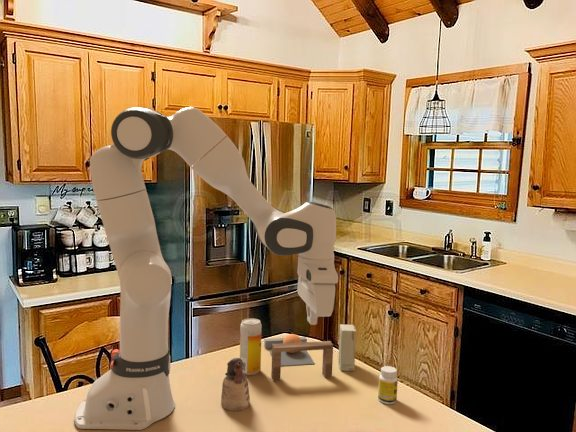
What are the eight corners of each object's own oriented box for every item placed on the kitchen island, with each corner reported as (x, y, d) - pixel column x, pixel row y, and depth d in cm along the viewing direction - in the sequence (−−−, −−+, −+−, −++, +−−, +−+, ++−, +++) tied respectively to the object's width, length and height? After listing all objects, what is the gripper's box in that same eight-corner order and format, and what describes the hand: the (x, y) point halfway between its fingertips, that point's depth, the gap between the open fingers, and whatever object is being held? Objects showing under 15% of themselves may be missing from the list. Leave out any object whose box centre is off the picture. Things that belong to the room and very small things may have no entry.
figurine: (246, 395, 122) (246, 351, 121) (252, 409, 116) (253, 362, 114) (218, 399, 120) (219, 354, 119) (224, 413, 113) (224, 365, 112)
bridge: (331, 377, 134) (333, 344, 133) (273, 381, 131) (274, 348, 129) (328, 373, 137) (330, 341, 136) (271, 376, 133) (272, 343, 132)
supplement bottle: (396, 405, 119) (398, 374, 118) (377, 403, 120) (379, 372, 119) (396, 396, 124) (398, 366, 123) (378, 394, 125) (379, 364, 124)
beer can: (264, 370, 138) (265, 320, 136) (252, 377, 133) (253, 326, 131) (248, 365, 141) (249, 316, 139) (235, 372, 136) (236, 322, 134)
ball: (281, 345, 154) (285, 358, 149) (281, 331, 151) (285, 344, 146) (299, 342, 155) (303, 355, 150) (299, 328, 153) (303, 341, 147)
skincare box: (354, 371, 139) (356, 331, 137) (339, 371, 139) (341, 331, 137) (352, 362, 145) (353, 324, 144) (337, 362, 145) (339, 323, 144)
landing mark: (275, 366, 140) (275, 365, 140) (269, 350, 152) (269, 350, 152) (314, 364, 143) (314, 363, 143) (305, 348, 154) (305, 348, 154)
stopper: (265, 348, 154) (265, 341, 153) (264, 346, 156) (264, 338, 155) (306, 346, 157) (306, 339, 156) (305, 344, 159) (305, 336, 158)
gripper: (293, 259, 125) (290, 310, 126) (314, 277, 105) (310, 337, 106) (316, 260, 126) (313, 310, 128) (340, 278, 106) (336, 337, 108)
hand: (311, 323), depth 117 cm, fingers closed
